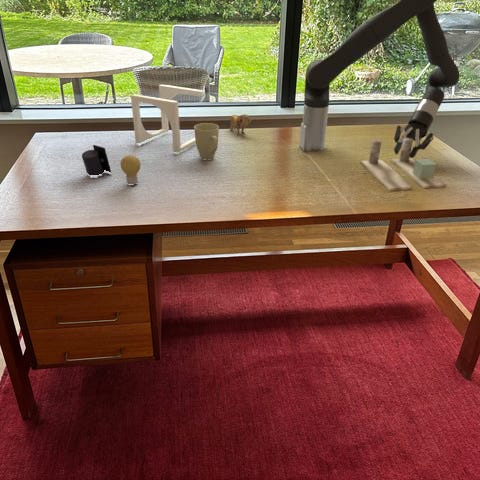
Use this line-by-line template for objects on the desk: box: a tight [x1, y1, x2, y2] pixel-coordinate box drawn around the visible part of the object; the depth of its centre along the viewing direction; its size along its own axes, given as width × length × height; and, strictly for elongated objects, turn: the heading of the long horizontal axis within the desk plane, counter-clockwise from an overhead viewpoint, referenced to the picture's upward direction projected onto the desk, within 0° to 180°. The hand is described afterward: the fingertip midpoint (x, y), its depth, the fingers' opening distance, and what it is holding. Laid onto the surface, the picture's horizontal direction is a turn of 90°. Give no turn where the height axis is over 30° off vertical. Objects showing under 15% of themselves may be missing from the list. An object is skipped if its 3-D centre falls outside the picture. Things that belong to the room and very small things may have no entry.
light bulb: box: [120, 154, 142, 185], centre depth 160 cm, size 6×6×10 cm
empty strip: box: [360, 139, 413, 192], centre depth 167 cm, size 8×24×9 cm, turn 10°
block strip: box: [391, 138, 447, 189], centre depth 169 cm, size 8×24×9 cm, turn 10°
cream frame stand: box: [130, 84, 205, 153], centre depth 193 cm, size 20×20×20 cm
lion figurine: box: [227, 113, 252, 136], centre depth 208 cm, size 15×5×9 cm, turn 36°
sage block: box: [413, 158, 438, 179], centre depth 166 cm, size 5×5×5 cm
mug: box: [193, 122, 220, 161], centre depth 180 cm, size 11×10×12 cm
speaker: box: [81, 144, 112, 175], centre depth 167 cm, size 8×6×10 cm
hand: (403, 154), depth 177 cm, fingers open, 5 cm apart
